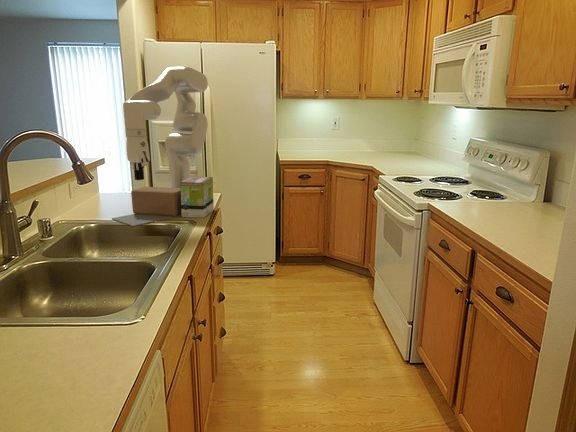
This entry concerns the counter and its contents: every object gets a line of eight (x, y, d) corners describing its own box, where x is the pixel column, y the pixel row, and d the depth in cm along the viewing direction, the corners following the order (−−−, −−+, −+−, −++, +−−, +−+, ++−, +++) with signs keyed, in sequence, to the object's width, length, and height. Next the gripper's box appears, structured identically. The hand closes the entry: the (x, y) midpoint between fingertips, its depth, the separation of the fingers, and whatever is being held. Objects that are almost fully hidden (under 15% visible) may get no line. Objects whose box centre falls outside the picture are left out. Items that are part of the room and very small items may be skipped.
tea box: (205, 218, 176) (203, 182, 173) (181, 217, 177) (178, 181, 173) (214, 209, 191) (213, 176, 187) (192, 209, 191) (190, 175, 188)
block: (132, 214, 181) (175, 217, 176) (129, 190, 178) (174, 192, 174) (145, 208, 190) (187, 211, 185) (143, 186, 188) (185, 188, 183)
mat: (160, 209, 190) (160, 208, 190) (182, 215, 179) (182, 214, 179) (111, 219, 174) (111, 218, 174) (132, 226, 164) (132, 225, 163)
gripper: (154, 133, 169) (158, 180, 173) (134, 132, 179) (138, 176, 183) (136, 134, 163) (140, 183, 168) (117, 133, 173) (121, 178, 178)
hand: (139, 179), depth 176 cm, fingers closed
